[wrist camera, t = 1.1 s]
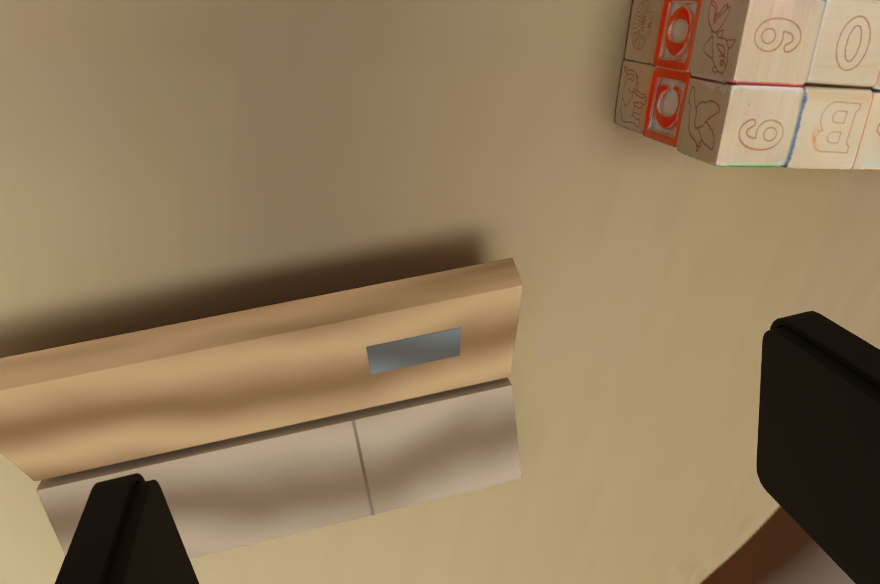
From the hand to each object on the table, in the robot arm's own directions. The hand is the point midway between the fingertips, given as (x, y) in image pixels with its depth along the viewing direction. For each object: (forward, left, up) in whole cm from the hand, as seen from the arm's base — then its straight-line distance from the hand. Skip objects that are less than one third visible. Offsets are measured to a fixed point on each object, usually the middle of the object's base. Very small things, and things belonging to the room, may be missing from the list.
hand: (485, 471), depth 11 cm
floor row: (+16, -6, -24) cm, 30 cm away
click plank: (+8, -6, -22) cm, 25 cm away
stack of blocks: (0, +24, -25) cm, 34 cm away
